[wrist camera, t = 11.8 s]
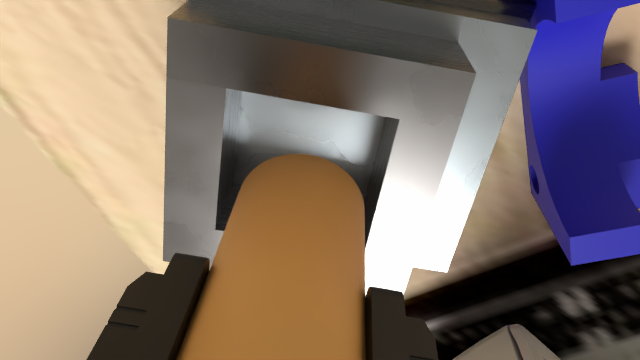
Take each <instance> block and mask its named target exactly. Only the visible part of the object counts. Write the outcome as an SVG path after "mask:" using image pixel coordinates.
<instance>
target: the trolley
mask: <svg viewBox="0 0 640 360" xmlns="http://www.w3.org/2000/svg"><path fill="white" fill-rule="evenodd" d="M535 8H536V4H535V3H534V2H532V1H531V0H186V3H185V4H184V5H182V6H181V7H180V8H179V9H177V10H176V11H175V12H174V13H173V14H171V15H170V16H169V17H168V30H167V82H166V135H165V187H164V240H163V261H167V262H170V261H171V259H172V257H173V255H174V254H175V253H182V254H188V255H194V256H200V257H206V258H209V260H210V267H209V269H210V268H211V265H212V262H213V260H214V257H215V254H216V252H217V249H218V246H219V244H220V241H221V238H222V236H223V233H224V230H225V228H226V225H227V223H228V220H229V217H230V215H231V212H232V209H233V207H234V204H235V201H236V199H237V196H238V193H239V191H240V188H241V186H242V184H243V182H244V180H245V179H246V177H247V176H248V175H249V173H250V172H251V171H252V170H253V169H254V168H256V167H257V166H258V165H260V164H261V163H263V162H265V161H267V160H269V159H272V158H274V157H277V156H281V155H287V154H307V155H313V156H317V157H321V158H323V159H326V160H329V161H330V162H332V163H334V164H336V165H338V166H339V167H341V168H342V169H343V170H344V171H346V172H347V173H348V174H349V175H350V176H351V177H352V179H353V180H354V181H355V183H356V184H357V186H358V187H359V189H360V191H361V194H362V197H363V200H364V207H365V294H366V293H367V290H368V288H369V286H372V287H378V288H384V289H389V290H395V291H401V292H402V293H403V295H404V292H405V289H406V286H407V283H408V280H409V277H410V273H411V270H412V267H417V268H423V269H429V270H435V271H441V272H447V271H448V268H449V265H450V263H451V260H452V257H453V255H454V252H455V249H456V247H457V244H458V241H459V239H460V236H461V233H462V231H463V228H464V225H465V223H466V220H467V217H468V215H469V212H470V209H471V207H472V204H473V201H474V199H475V196H476V193H477V191H478V188H479V185H480V183H481V180H482V177H483V175H484V172H485V169H486V167H487V164H488V161H489V159H490V156H491V153H492V151H493V148H494V145H495V143H496V140H497V137H498V135H499V132H500V129H501V127H502V124H503V121H504V119H505V116H506V113H507V111H508V108H509V105H510V103H511V100H512V97H513V95H514V92H515V89H516V86H517V84H518V81H519V78H520V76H521V73H522V70H523V68H524V65H525V62H526V60H527V57H528V54H529V52H530V49H531V46H532V44H533V41H534V38H535V36H536V33H537V29H536V28H535V27H534V26H533V25H531V24H530V22H531V19H532V16H533V14H534V11H535Z"/></svg>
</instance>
